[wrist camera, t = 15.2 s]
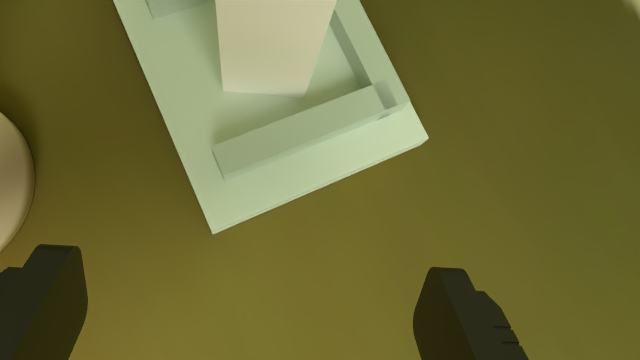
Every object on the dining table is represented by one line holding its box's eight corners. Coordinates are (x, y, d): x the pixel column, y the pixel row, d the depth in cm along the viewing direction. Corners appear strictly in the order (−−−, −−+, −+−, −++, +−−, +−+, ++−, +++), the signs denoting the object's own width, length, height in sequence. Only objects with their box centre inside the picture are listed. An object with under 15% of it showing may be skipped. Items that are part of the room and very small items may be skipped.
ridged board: (107, -14, 21) (92, -49, 19) (310, -72, 23) (317, -108, 21) (212, 234, 19) (209, 227, 17) (420, 144, 22) (439, 129, 20)
